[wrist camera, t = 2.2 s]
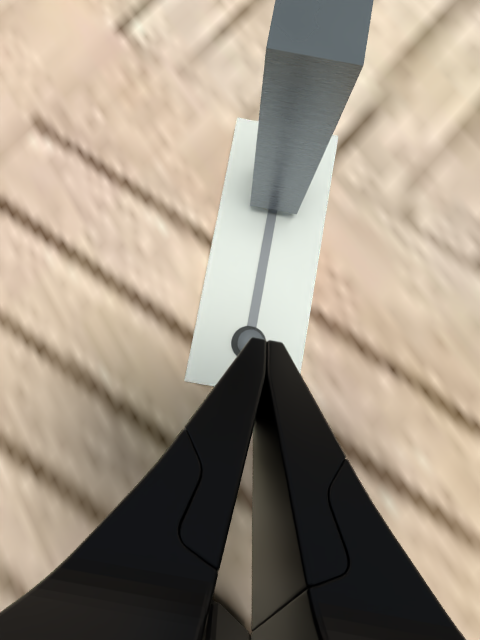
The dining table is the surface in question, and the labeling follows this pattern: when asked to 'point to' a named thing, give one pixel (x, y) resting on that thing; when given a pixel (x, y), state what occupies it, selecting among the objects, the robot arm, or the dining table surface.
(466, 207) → the dining table surface
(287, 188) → the gray metal block
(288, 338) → the bolt plate
